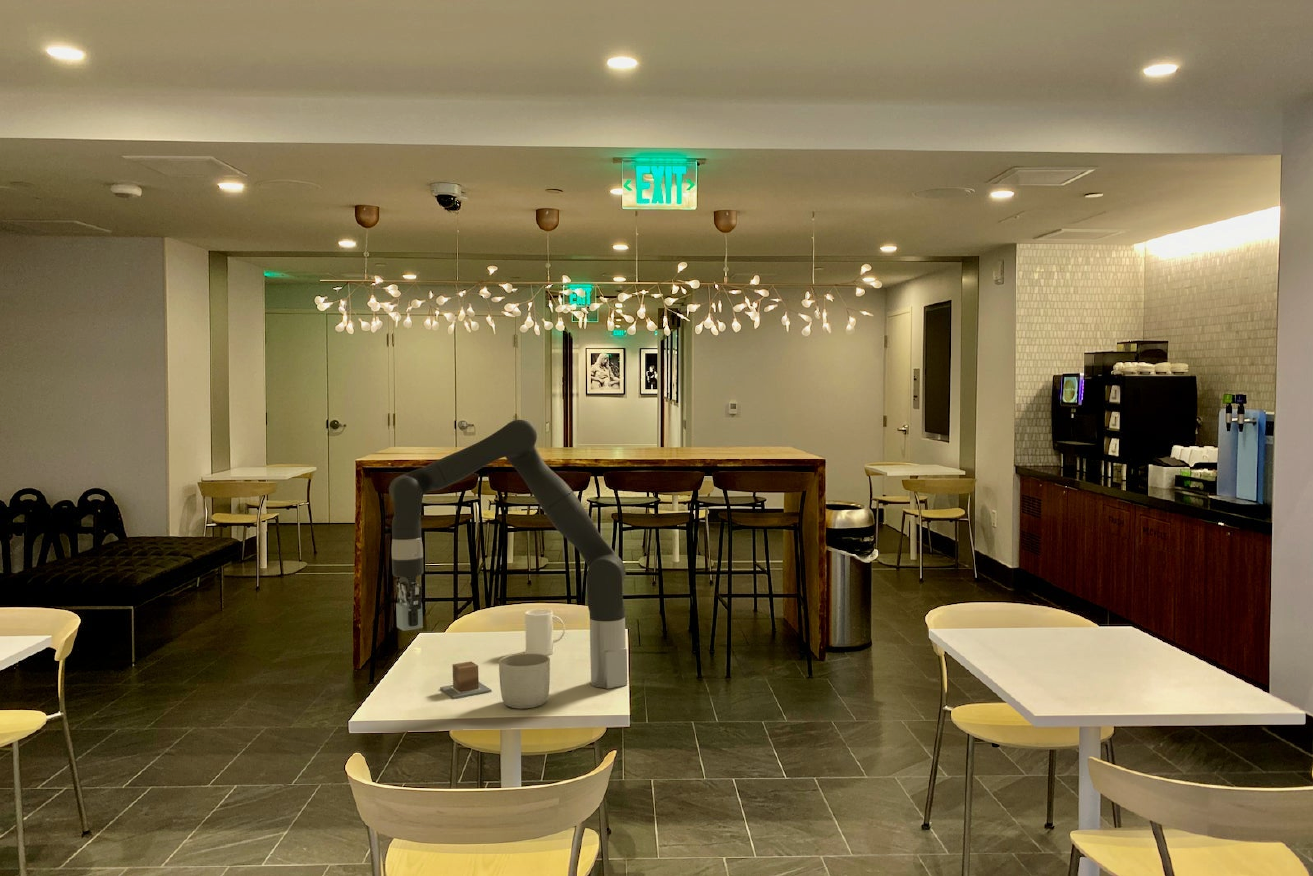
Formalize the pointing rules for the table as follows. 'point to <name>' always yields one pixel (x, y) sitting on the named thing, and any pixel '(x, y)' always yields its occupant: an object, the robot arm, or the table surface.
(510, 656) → the planter
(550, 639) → the mug
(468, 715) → the table surface
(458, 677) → the walnut block
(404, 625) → the blue grey block
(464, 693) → the pad
